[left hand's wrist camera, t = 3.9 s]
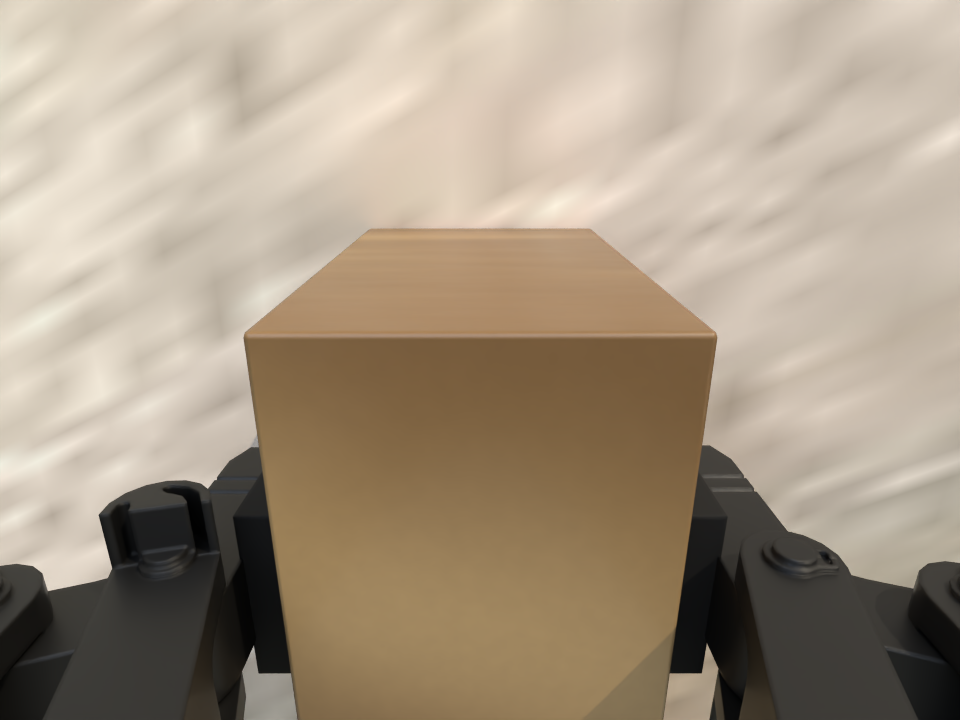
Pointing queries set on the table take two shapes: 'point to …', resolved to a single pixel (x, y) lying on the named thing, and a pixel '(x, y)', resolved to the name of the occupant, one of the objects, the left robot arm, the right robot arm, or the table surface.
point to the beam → (480, 476)
